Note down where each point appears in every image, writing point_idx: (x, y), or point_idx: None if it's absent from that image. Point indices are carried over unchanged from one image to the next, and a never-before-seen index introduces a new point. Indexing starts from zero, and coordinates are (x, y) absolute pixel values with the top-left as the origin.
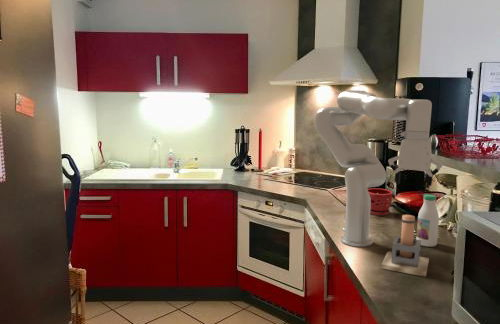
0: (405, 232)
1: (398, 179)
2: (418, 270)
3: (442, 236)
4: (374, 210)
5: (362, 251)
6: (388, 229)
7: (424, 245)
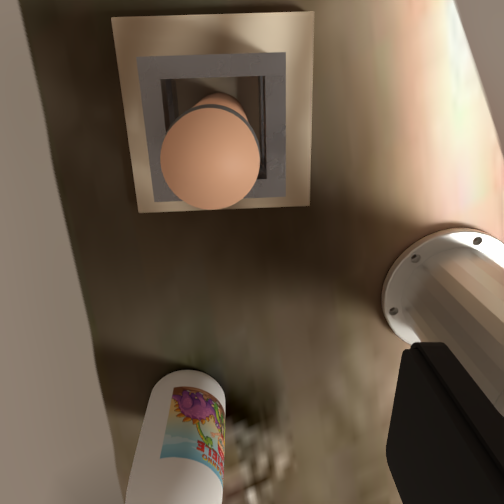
0: (221, 102)
1: (450, 408)
2: (146, 23)
3: None
4: None
5: (411, 189)
6: (339, 473)
7: (189, 370)
